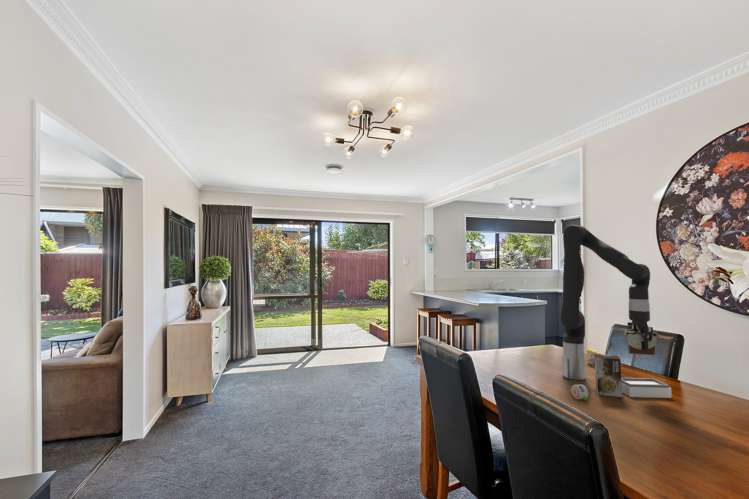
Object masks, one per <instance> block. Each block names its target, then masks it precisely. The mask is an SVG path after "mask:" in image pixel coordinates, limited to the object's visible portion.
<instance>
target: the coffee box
mask: <svg viewBox="0 0 749 499" xmlns="http://www.w3.org/2000/svg"><path fill="white" fill-rule="evenodd" d="M603 354H604V353H603ZM603 354H595V366H594V371H595V372H594V374H595V391H596V394H597V395H598V396H605V397H617V398H623V393H622V381H621V378H622V369H621V368H622V367H621V366H622V365H621V361H622V360H621V358H620V356H618V355H615V354H606V355H603Z"/></svg>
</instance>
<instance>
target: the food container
mask: <svg viewBox="0 0 749 499" xmlns="http://www.w3.org/2000/svg"><path fill="white" fill-rule="evenodd" d="M623 334H624V336H626V344H627V351H628V354H629V355H640V356H641V355H642V356H653V357H654V356H656V349H657V341H658V340H657V339H658V338H659V333H658V332H657V331H654V330H653V334H652V341H648V350H642V344H641V341H642V340H641V337H640V336H639V333H638V332H635V331H632V329H628V328H627V329H625V331H624V333H623ZM642 334H645V333H642ZM643 337H644V336H643ZM648 337H649V336H648Z"/></svg>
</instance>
